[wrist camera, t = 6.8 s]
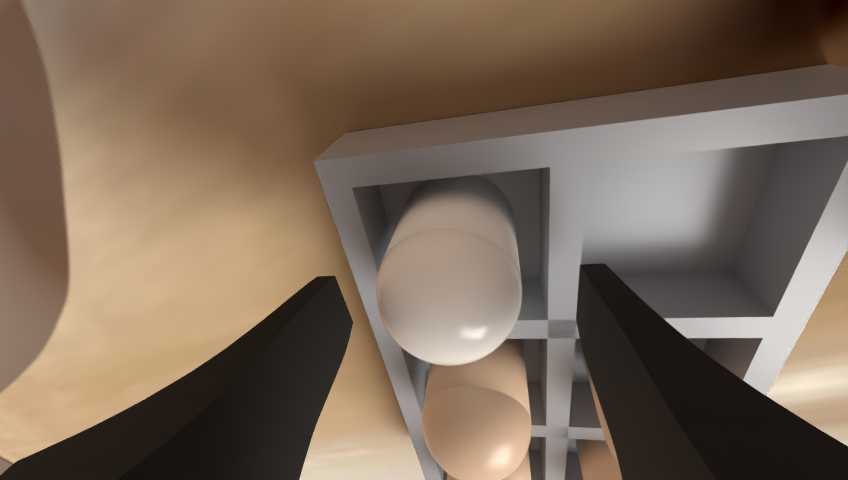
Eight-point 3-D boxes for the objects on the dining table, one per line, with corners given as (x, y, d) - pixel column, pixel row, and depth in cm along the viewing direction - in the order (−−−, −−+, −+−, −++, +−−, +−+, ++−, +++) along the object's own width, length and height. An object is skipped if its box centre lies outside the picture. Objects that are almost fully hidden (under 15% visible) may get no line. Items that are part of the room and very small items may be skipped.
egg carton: (829, 63, 10) (1254, 136, 4) (675, 457, 22) (741, 615, 16) (344, 132, 13) (242, 224, 8) (435, 442, 25) (420, 569, 19)
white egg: (511, 166, 12) (528, 275, 7) (515, 265, 15) (530, 401, 10) (393, 178, 13) (334, 282, 8) (414, 269, 16) (378, 395, 11)
